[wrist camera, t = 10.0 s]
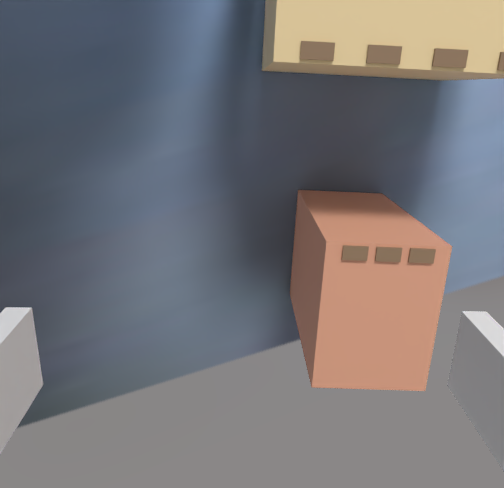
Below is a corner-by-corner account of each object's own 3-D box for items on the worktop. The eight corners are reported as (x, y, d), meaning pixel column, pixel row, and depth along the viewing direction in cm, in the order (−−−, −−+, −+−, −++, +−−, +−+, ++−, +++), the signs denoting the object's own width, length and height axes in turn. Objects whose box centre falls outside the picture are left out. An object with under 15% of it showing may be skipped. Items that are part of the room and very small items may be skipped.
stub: (298, 189, 34) (327, 242, 23) (382, 193, 34) (453, 247, 23) (289, 293, 37) (312, 388, 25) (368, 296, 37) (425, 392, 25)
